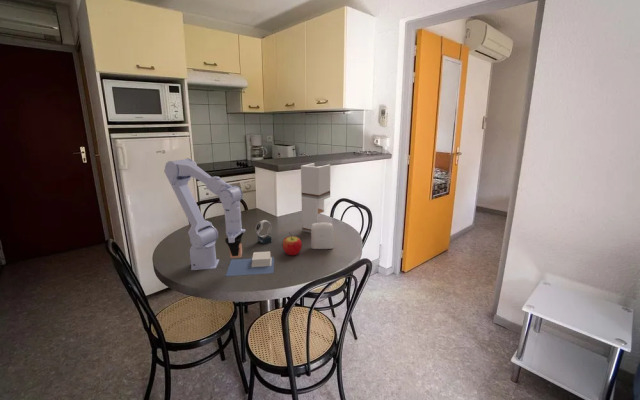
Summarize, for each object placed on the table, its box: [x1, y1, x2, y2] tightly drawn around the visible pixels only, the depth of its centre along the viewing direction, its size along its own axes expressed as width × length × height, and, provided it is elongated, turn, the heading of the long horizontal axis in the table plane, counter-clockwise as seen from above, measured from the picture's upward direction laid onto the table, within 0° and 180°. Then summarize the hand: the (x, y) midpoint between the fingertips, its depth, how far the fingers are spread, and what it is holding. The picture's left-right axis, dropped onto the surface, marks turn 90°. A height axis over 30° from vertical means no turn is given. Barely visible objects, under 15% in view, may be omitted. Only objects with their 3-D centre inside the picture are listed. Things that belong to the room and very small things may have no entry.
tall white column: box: [300, 162, 331, 234], centre depth 159 cm, size 11×11×35 cm
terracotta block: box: [228, 243, 243, 259], centre depth 115 cm, size 4×4×4 cm
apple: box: [282, 232, 303, 256], centre depth 132 cm, size 8×8×10 cm
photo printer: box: [310, 221, 335, 250], centre depth 138 cm, size 10×4×12 cm, turn 89°
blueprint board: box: [225, 256, 275, 277], centre depth 122 cm, size 18×14×1 cm
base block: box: [251, 250, 272, 266], centre depth 125 cm, size 7×7×3 cm
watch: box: [254, 219, 273, 245], centre depth 145 cm, size 6×8×11 cm
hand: (236, 253), depth 115 cm, fingers closed on terracotta block, 4 cm apart
